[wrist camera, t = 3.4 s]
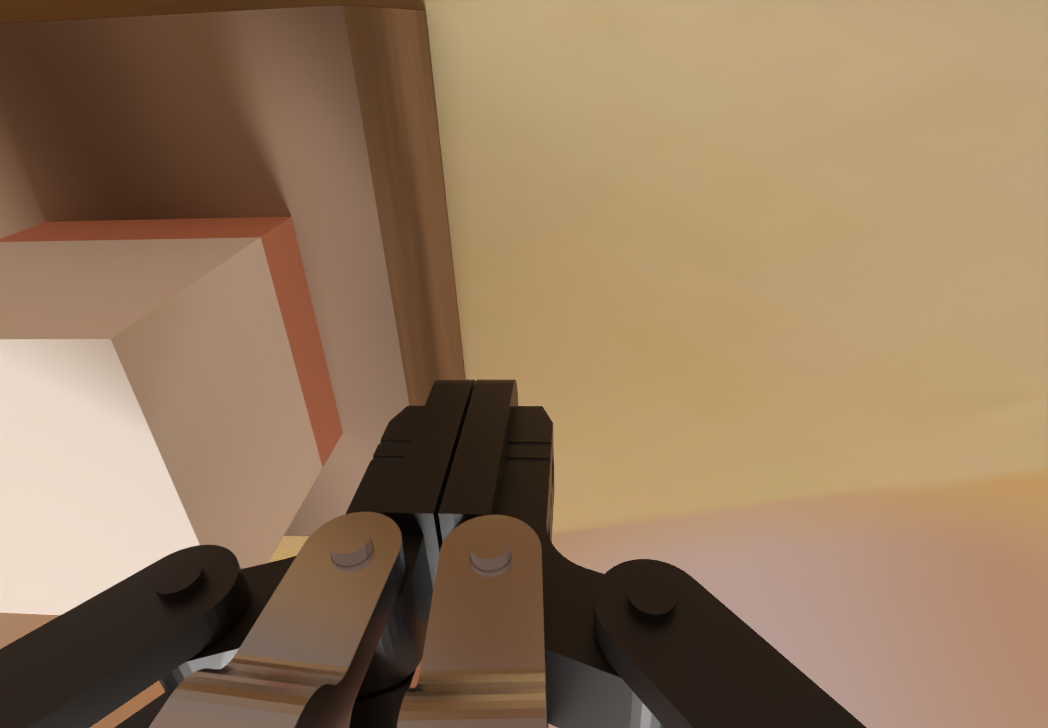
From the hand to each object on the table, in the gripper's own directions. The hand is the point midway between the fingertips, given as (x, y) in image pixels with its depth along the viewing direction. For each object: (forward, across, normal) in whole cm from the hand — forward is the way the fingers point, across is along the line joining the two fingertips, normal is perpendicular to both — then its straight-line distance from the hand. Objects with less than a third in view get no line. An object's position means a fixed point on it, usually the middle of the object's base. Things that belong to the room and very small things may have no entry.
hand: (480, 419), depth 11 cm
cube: (+4, +8, 0) cm, 8 cm away
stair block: (+11, +16, 0) cm, 20 cm away
